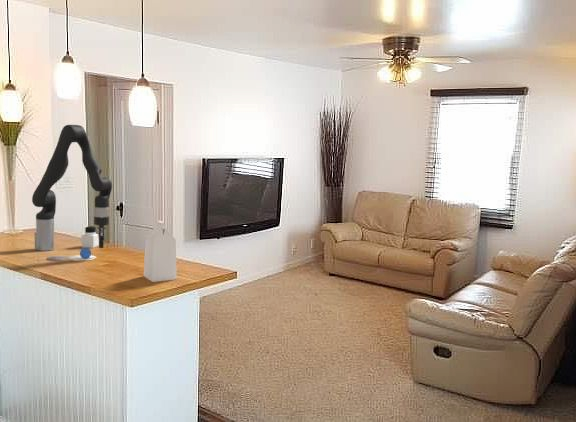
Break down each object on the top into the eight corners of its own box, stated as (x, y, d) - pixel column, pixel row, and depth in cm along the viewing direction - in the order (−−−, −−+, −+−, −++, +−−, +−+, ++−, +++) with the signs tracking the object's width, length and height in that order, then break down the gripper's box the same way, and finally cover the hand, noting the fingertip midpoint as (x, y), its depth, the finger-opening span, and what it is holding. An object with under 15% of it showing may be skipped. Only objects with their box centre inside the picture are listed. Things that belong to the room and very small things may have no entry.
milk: (177, 279, 252) (177, 222, 250) (152, 281, 246) (153, 223, 243) (167, 273, 262) (168, 219, 259) (143, 276, 256) (144, 220, 253)
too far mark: (42, 259, 282) (42, 259, 282) (53, 256, 292) (53, 255, 292) (60, 261, 281) (60, 260, 281) (71, 257, 291) (71, 257, 291)
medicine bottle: (98, 246, 325) (98, 225, 324) (93, 248, 318) (93, 227, 317) (87, 245, 326) (87, 225, 325) (81, 247, 319) (81, 226, 318)
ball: (87, 244, 288) (95, 251, 291) (79, 247, 290) (87, 253, 294) (83, 252, 284) (91, 259, 287) (76, 255, 287) (83, 262, 290)
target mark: (61, 259, 285) (61, 259, 285) (76, 254, 299) (76, 254, 299) (87, 261, 283) (87, 261, 283) (100, 256, 296) (100, 255, 296)
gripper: (93, 213, 297) (93, 245, 299) (94, 217, 284) (93, 250, 286) (108, 213, 299) (108, 245, 301) (109, 217, 287) (109, 250, 289)
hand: (101, 247), depth 294 cm, fingers closed
